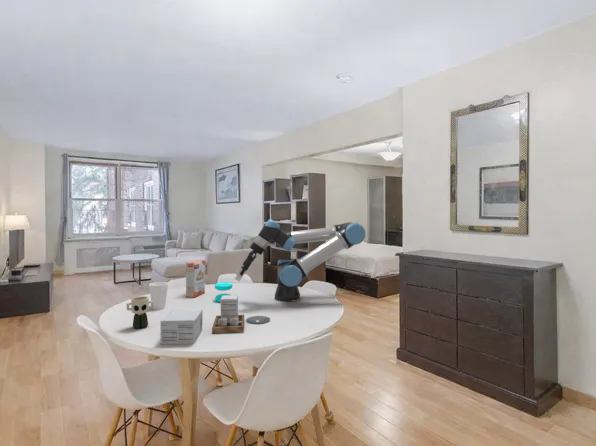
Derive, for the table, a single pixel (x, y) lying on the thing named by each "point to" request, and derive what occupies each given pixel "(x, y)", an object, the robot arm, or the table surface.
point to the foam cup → (158, 294)
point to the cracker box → (195, 278)
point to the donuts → (222, 289)
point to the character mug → (140, 310)
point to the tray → (228, 325)
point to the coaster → (258, 319)
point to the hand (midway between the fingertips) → (237, 277)
